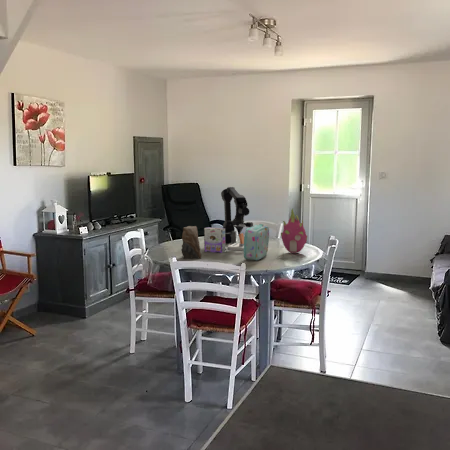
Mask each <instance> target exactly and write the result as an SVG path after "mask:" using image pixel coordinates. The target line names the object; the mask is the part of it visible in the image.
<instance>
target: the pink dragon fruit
mask: <svg viewBox="0 0 450 450" xmlns="http://www.w3.org/2000/svg"><path fill="white" fill-rule="evenodd" d="M299 219H300V218H299V216H298V215H297V214H296V215H295V213H294V209H293V208H292V209H291V212H290V217H289V219H288V222H287V223H286V221H285V220H282V222H283V231H282V232H280V237H281V240H282V243H283V246H284V248H285V250H286V251H288V253H291V254H298V253H300V252H301V251H302V250H303V248H304V246H305V245H306V243H307V240H308V235H307V233H306V232H307V231H306V229H305V227H304V220H303V219H301V223H300V220H299Z"/></svg>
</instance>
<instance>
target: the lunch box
mask: <svg viewBox="0 0 450 450" xmlns="http://www.w3.org/2000/svg"><path fill="white" fill-rule="evenodd" d="M269 238H270V227H268V226H267V225H264V224H262V223H259V224H254V225H253V226H252V227H246V229H245V232H244V250H243V257H244V259H245V260H250V261H259V260H260V259H264V257H266V256H267V254H268V250H269V240H270V239H269Z"/></svg>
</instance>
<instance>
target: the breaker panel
mask: <svg viewBox="0 0 450 450" xmlns="http://www.w3.org/2000/svg"><path fill="white" fill-rule="evenodd" d="M227 250H232V251H244V245H243V244H240V242H238V243H237V242H236V243H234V244H232V245H231V244H230V245H228V246H227Z"/></svg>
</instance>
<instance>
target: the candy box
mask: <svg viewBox="0 0 450 450" xmlns="http://www.w3.org/2000/svg"><path fill="white" fill-rule="evenodd" d="M203 234H204V235H203V238H204V239H203V240H204V241H203V243H204V248H203V249H204V251H203V252H207V253H219V254H222V253H225V252H226V251H225V249H226V243H225V228H223V227H209V226H208V227H204V228H203Z"/></svg>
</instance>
